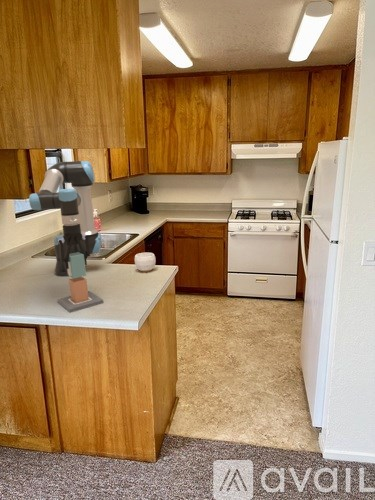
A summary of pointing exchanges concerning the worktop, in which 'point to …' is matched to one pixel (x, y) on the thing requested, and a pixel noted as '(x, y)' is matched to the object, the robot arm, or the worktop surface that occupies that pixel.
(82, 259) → the teal block
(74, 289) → the terracotta block
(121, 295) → the worktop surface
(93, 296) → the base plate
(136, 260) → the cup
